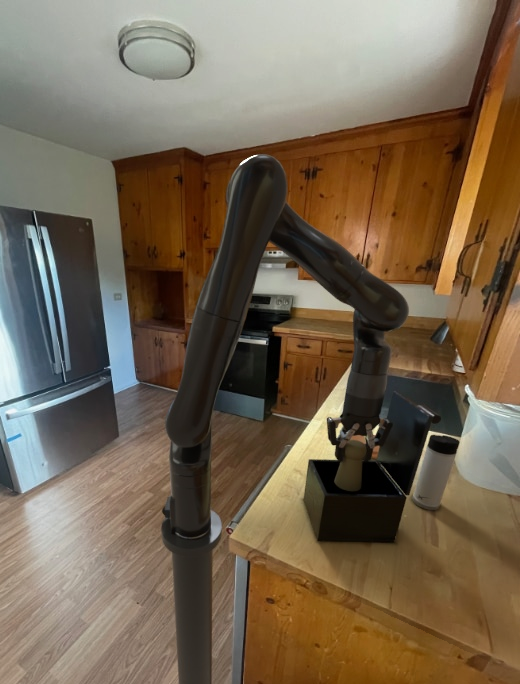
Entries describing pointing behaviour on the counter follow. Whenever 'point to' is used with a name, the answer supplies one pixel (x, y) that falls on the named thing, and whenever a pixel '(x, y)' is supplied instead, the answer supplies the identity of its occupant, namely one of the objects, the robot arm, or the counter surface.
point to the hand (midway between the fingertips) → (351, 459)
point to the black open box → (353, 504)
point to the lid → (405, 439)
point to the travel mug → (435, 471)
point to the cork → (351, 466)
